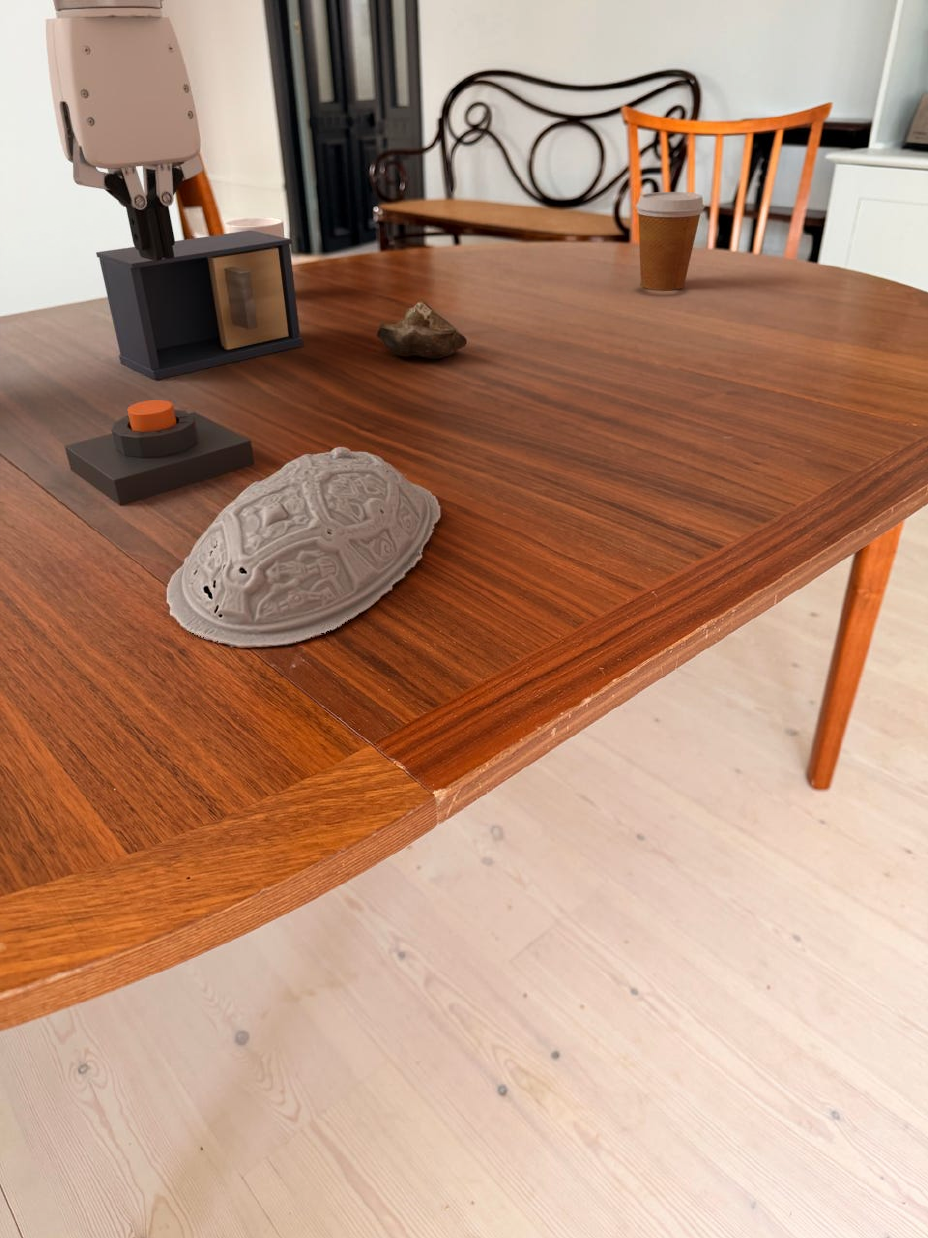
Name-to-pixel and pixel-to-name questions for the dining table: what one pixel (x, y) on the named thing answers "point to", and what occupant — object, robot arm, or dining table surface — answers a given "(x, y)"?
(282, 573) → the grey embossed domed part
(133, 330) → the closet
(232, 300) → the closet door
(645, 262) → the disposable coffee cup
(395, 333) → the fossilized seashell
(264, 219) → the white cup
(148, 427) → the orange button
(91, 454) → the switch block
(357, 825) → the dining table surface
